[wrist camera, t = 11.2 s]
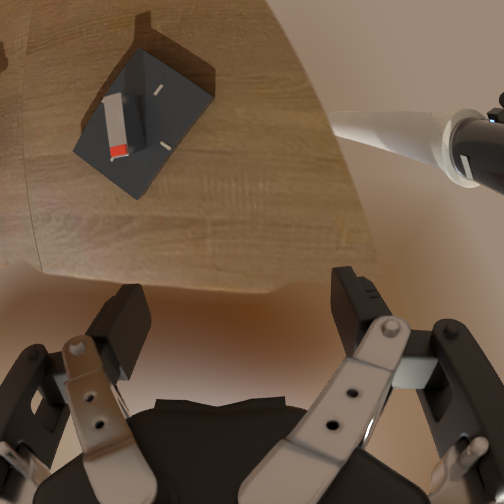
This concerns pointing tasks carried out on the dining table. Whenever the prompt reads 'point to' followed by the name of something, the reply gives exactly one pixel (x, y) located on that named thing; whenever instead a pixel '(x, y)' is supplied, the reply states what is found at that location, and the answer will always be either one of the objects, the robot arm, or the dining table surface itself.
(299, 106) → the dining table surface
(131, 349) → the robot arm
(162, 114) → the base
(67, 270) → the dining table surface
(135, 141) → the tap handle
